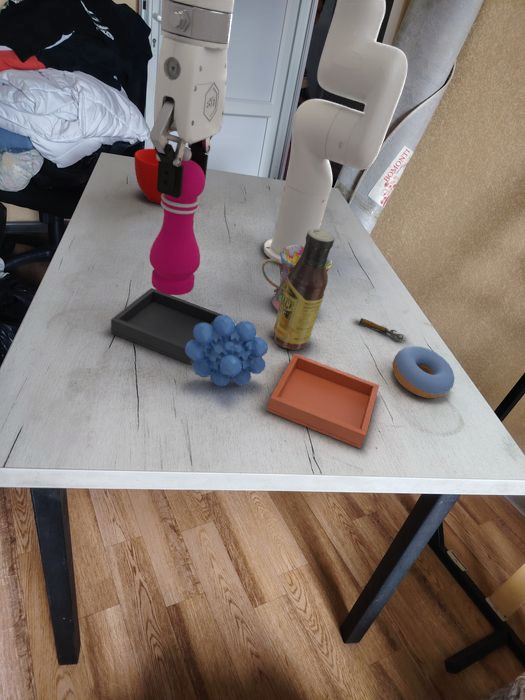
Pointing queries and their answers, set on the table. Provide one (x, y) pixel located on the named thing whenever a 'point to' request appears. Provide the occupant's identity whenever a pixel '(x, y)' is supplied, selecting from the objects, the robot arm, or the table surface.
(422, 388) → the doughnut
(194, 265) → the pepper mill
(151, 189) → the ceramic cup
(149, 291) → the charcoal tray
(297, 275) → the sauce bottle
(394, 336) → the can opener
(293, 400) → the terracotta tray
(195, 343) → the blue knobbed flower
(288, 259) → the mug
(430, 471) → the table surface
